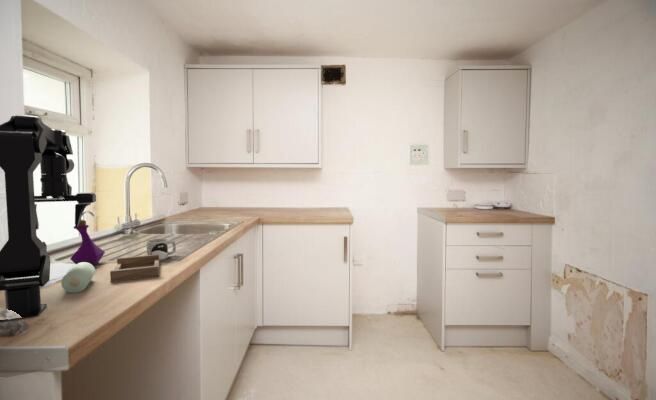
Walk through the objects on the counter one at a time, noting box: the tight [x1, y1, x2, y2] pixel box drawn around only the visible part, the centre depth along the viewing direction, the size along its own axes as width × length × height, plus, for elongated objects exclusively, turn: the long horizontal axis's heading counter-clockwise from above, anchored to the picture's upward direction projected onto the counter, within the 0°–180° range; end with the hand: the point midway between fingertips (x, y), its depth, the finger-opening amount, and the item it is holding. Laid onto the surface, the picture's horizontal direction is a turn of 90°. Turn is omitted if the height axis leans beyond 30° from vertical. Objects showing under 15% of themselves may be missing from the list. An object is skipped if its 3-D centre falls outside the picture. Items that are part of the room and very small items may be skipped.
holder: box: [109, 254, 160, 283], centre depth 105 cm, size 16×12×3 cm
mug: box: [146, 238, 177, 262], centre depth 121 cm, size 10×7×7 cm, turn 141°
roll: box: [60, 262, 96, 294], centre depth 91 cm, size 10×6×6 cm, turn 26°
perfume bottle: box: [69, 210, 106, 267], centre depth 111 cm, size 8×8×18 cm
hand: (57, 228), depth 98 cm, fingers open, 9 cm apart
